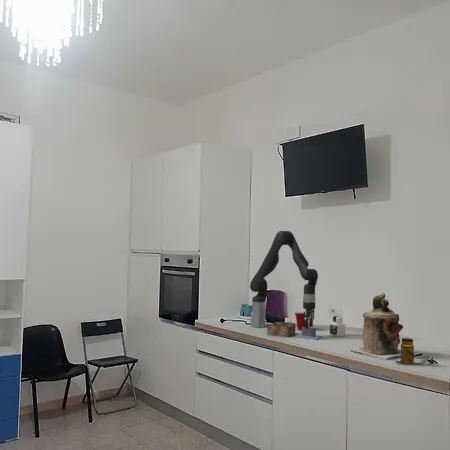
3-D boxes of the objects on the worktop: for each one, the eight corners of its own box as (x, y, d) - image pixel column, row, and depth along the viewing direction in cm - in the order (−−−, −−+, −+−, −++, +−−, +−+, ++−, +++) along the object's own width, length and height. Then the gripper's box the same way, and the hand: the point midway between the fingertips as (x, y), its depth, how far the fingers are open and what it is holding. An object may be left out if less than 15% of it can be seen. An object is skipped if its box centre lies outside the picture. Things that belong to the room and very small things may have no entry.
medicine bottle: (329, 334, 320) (329, 315, 320) (338, 334, 323) (338, 315, 323) (336, 336, 313) (337, 317, 314) (345, 335, 317) (345, 316, 317)
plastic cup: (309, 328, 341) (310, 311, 342) (310, 331, 330) (311, 313, 331) (293, 328, 342) (294, 310, 343) (294, 330, 331) (294, 312, 332)
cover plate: (294, 338, 305) (294, 327, 306) (300, 335, 316) (301, 325, 316) (316, 340, 299) (317, 330, 299) (322, 338, 309) (322, 327, 310)
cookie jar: (347, 351, 268) (348, 291, 269) (375, 346, 283) (376, 290, 284) (387, 360, 248) (388, 296, 250) (415, 354, 263) (415, 294, 265)
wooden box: (267, 334, 313) (267, 324, 313) (274, 332, 325) (275, 321, 325) (288, 337, 307) (288, 326, 307) (295, 334, 318) (295, 323, 318)
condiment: (416, 365, 238) (416, 340, 239) (397, 364, 239) (397, 339, 240) (412, 362, 245) (412, 337, 246) (394, 361, 247) (394, 336, 247)
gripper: (307, 299, 316) (306, 325, 316) (299, 301, 304) (299, 328, 303) (318, 300, 313) (318, 326, 312) (311, 302, 300) (311, 329, 300)
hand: (308, 327), depth 308 cm, fingers open, 8 cm apart
